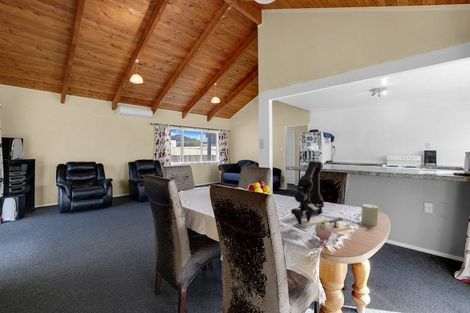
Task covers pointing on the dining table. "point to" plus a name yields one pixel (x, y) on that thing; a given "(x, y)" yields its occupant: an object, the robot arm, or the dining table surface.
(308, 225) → the cover
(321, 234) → the decorative fruit
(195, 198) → the dining table surface
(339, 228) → the board
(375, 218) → the can
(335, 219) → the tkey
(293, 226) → the mat
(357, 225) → the dining table surface
